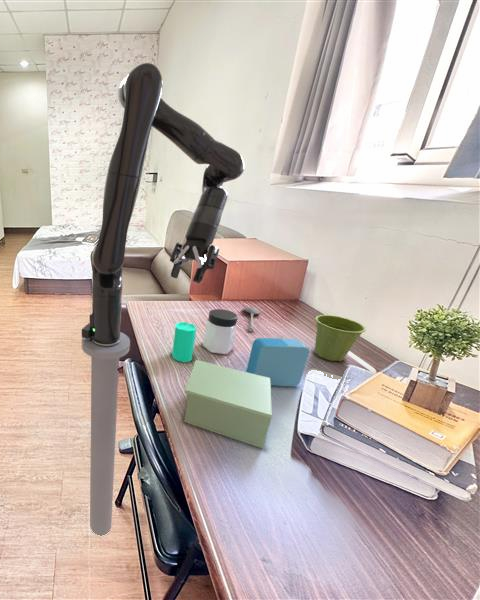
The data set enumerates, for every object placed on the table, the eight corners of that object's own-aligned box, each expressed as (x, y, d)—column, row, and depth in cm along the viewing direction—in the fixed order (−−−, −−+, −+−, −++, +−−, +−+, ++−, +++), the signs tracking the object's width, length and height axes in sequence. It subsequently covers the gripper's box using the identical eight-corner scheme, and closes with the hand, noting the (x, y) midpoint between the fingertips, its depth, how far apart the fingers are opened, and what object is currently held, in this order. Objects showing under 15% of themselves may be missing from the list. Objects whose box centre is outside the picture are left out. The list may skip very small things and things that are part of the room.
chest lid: (184, 392, 68) (185, 389, 67) (195, 362, 79) (195, 359, 78) (271, 418, 60) (271, 415, 60) (269, 380, 71) (270, 378, 71)
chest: (184, 422, 70) (188, 394, 67) (194, 388, 81) (198, 363, 78) (262, 448, 63) (271, 418, 60) (262, 407, 74) (269, 381, 71)
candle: (189, 364, 92) (194, 328, 87) (169, 358, 95) (173, 323, 90) (194, 354, 96) (199, 320, 92) (174, 349, 99) (179, 315, 95)
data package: (289, 376, 86) (300, 338, 81) (299, 387, 81) (311, 347, 77) (245, 375, 86) (253, 337, 82) (252, 385, 82) (261, 345, 78)
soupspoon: (260, 313, 127) (242, 311, 130) (261, 305, 126) (243, 303, 129) (260, 333, 109) (239, 330, 112) (261, 324, 108) (240, 321, 111)
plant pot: (359, 370, 88) (373, 335, 84) (309, 360, 93) (320, 327, 89) (346, 350, 98) (358, 318, 94) (302, 343, 103) (311, 312, 99)
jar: (224, 357, 95) (231, 322, 90) (199, 348, 100) (204, 314, 96) (235, 347, 101) (242, 313, 96) (210, 338, 106) (216, 306, 102)
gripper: (176, 220, 92) (158, 272, 93) (217, 220, 79) (195, 280, 80) (192, 229, 95) (175, 279, 96) (233, 230, 83) (213, 287, 84)
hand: (184, 279), depth 88 cm, fingers open, 8 cm apart
